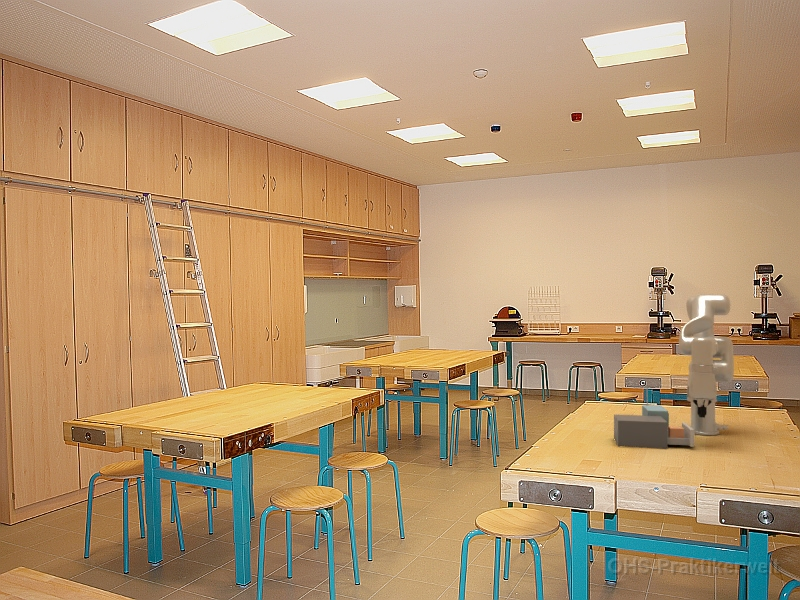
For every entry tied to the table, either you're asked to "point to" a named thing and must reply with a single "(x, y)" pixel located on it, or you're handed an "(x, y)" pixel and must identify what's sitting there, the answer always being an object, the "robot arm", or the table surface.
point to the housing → (640, 431)
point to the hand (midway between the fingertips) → (701, 416)
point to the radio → (655, 411)
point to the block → (675, 432)
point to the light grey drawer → (687, 438)
